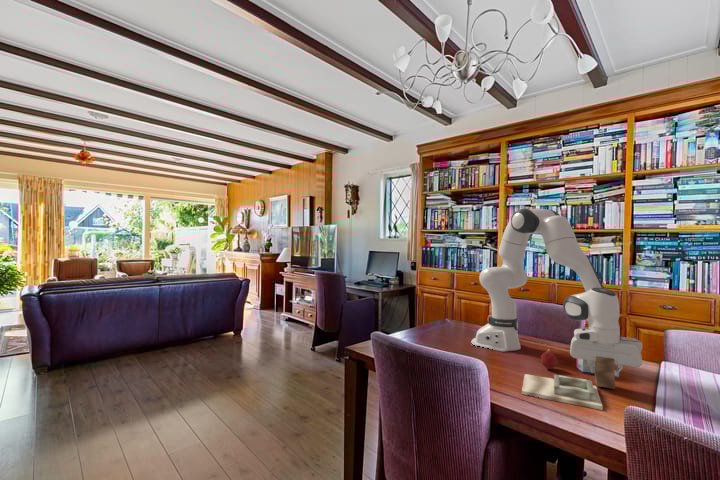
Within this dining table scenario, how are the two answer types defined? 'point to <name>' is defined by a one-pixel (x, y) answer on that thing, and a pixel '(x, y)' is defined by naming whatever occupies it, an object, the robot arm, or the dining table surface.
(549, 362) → the onion
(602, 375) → the walnut peg
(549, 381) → the socket stand
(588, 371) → the supplement box
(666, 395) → the dining table surface
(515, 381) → the dining table surface
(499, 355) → the dining table surface
